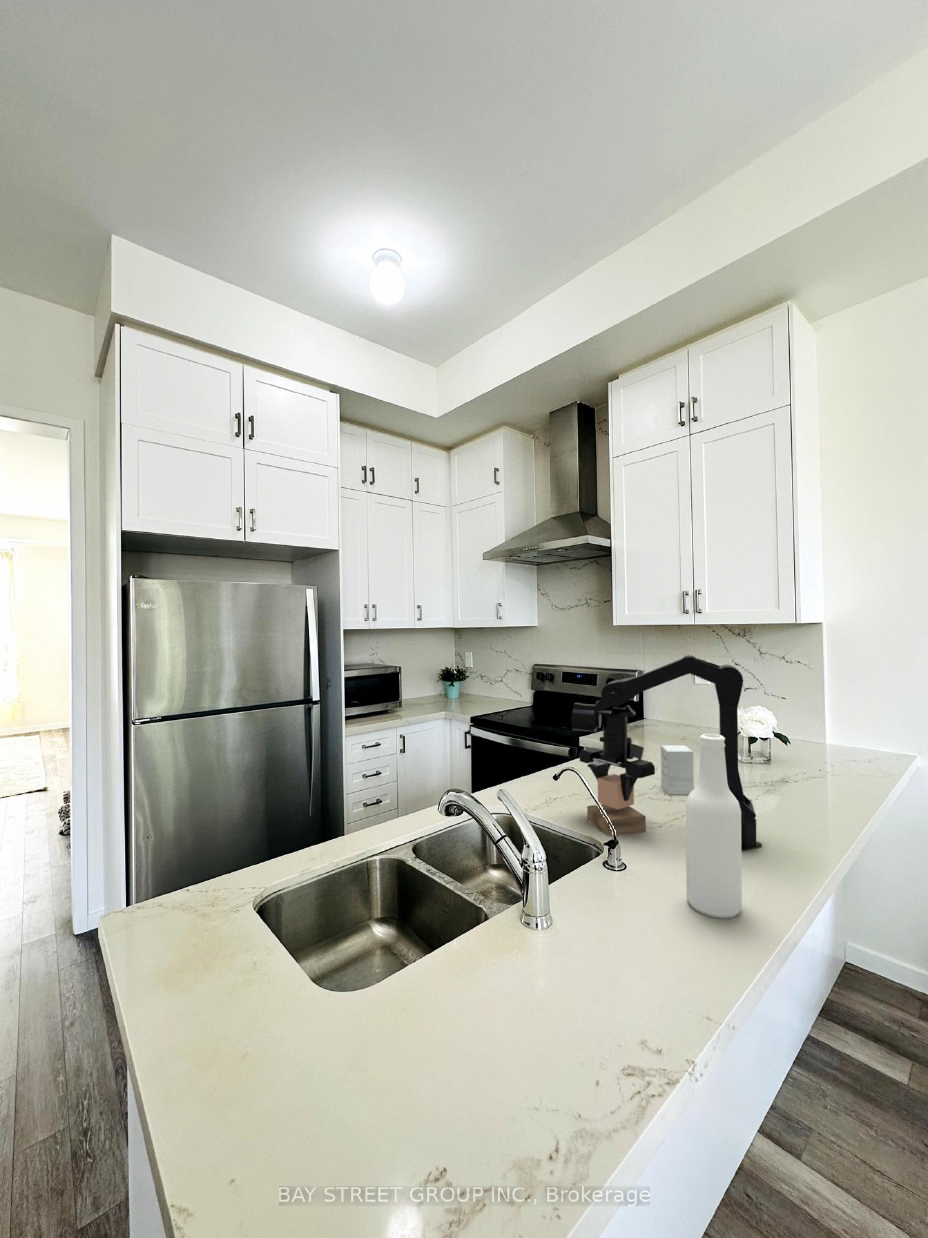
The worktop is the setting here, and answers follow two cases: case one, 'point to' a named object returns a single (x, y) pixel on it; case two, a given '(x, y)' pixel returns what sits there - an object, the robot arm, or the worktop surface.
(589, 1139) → the worktop surface
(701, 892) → the alcohol
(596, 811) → the walnut block
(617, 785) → the terracotta cube
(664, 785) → the supplement box
